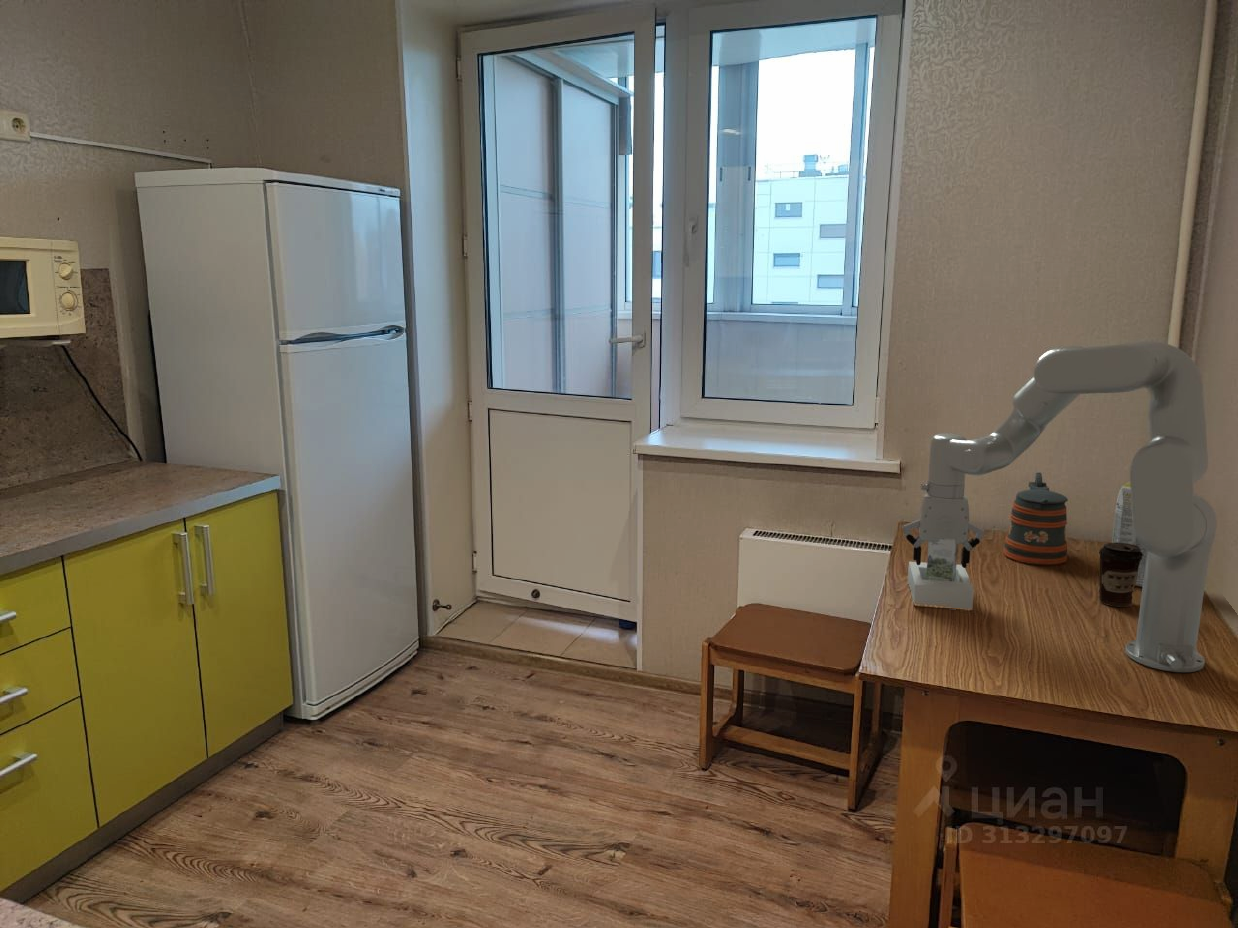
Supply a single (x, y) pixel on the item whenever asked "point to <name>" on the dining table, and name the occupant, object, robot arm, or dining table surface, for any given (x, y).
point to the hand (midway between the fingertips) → (940, 564)
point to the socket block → (940, 588)
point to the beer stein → (1037, 526)
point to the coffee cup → (1118, 573)
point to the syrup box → (942, 560)
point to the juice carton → (1127, 527)
